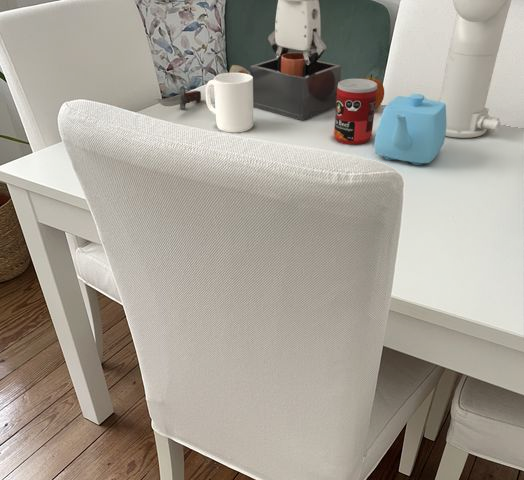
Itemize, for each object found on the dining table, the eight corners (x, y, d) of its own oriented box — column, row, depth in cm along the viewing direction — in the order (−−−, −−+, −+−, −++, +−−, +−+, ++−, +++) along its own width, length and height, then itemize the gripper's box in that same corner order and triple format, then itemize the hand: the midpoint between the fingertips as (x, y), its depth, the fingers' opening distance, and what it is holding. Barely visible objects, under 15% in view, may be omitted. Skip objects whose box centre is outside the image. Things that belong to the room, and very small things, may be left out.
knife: (161, 122, 130) (159, 99, 126) (156, 121, 130) (154, 98, 127) (201, 101, 141) (200, 79, 138) (197, 100, 142) (195, 78, 138)
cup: (239, 135, 123) (237, 85, 116) (196, 125, 128) (192, 76, 121) (260, 124, 128) (260, 76, 121) (218, 114, 133) (216, 68, 127)
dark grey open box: (338, 105, 138) (341, 65, 132) (302, 120, 130) (304, 78, 124) (287, 92, 146) (288, 54, 140) (250, 106, 138) (250, 66, 132)
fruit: (353, 104, 138) (356, 69, 133) (382, 105, 138) (386, 70, 132) (352, 113, 133) (355, 77, 128) (382, 115, 132) (386, 78, 127)
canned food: (327, 135, 123) (330, 80, 115) (359, 130, 125) (364, 76, 118) (344, 147, 117) (349, 91, 110) (378, 141, 120) (385, 86, 112)
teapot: (359, 168, 109) (366, 106, 102) (389, 138, 121) (397, 80, 114) (423, 180, 105) (435, 116, 97) (447, 148, 117) (460, 89, 109)
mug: (271, 98, 143) (253, 64, 135) (237, 116, 146) (218, 83, 138) (268, 82, 147) (250, 48, 140) (235, 99, 150) (216, 67, 143)
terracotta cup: (314, 96, 137) (316, 55, 131) (296, 103, 133) (298, 61, 127) (292, 91, 140) (293, 50, 134) (274, 97, 136) (274, 56, 130)
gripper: (341, -8, 120) (334, 82, 132) (278, -16, 129) (277, 69, 140) (320, -3, 116) (314, 90, 127) (256, -12, 125) (257, 75, 136)
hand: (295, 78), depth 134 cm, fingers closed on terracotta cup, 6 cm apart
